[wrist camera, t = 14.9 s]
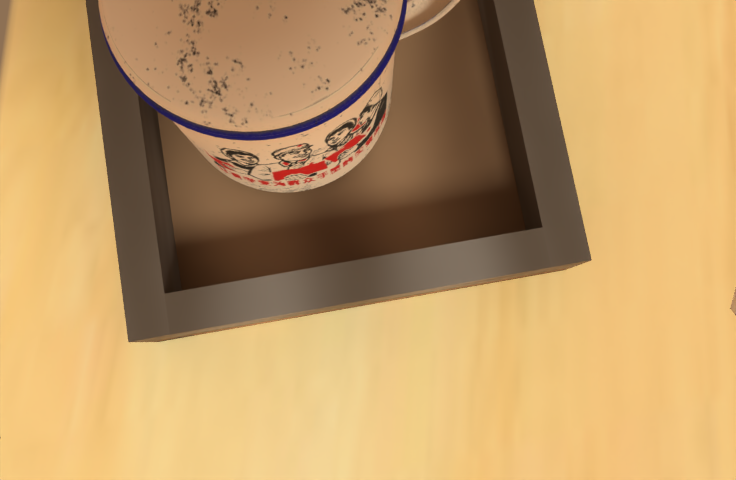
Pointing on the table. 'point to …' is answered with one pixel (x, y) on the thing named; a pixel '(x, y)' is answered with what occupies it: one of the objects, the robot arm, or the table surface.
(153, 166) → the tray
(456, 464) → the table surface
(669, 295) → the table surface
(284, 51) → the teacup with lid
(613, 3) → the table surface
